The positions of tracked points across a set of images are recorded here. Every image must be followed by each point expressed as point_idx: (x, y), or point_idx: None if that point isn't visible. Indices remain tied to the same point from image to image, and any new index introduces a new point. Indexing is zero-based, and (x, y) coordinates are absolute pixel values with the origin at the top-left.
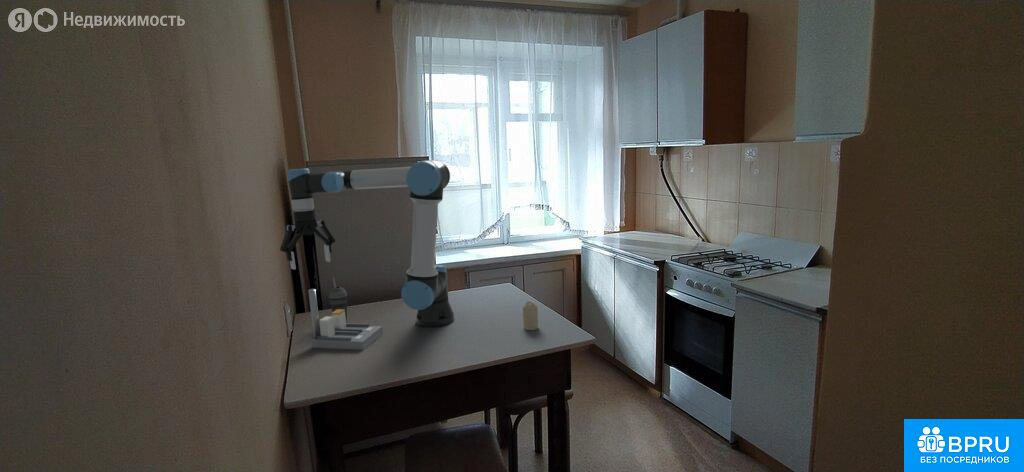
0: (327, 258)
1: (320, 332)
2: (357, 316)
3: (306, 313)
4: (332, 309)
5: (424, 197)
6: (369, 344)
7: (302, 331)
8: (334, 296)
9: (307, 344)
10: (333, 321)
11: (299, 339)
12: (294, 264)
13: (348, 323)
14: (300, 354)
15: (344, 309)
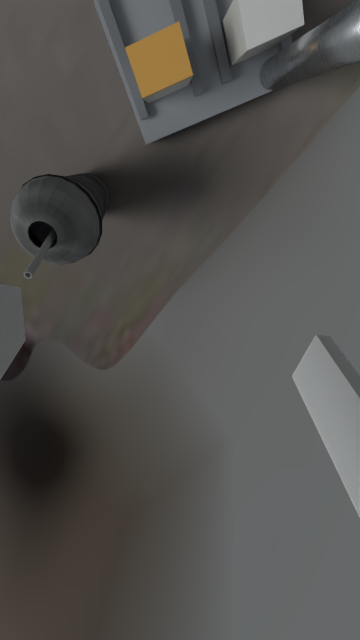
0: (7, 325)
1: (273, 55)
2: (9, 206)
3: (97, 364)
4: (103, 215)
5: None
6: None
7: (191, 257)
8: (86, 204)
9: (266, 136)
10: (232, 2)
11: (241, 206)
12: (342, 362)
13: (123, 58)
14: (345, 68)
15: (126, 47)
